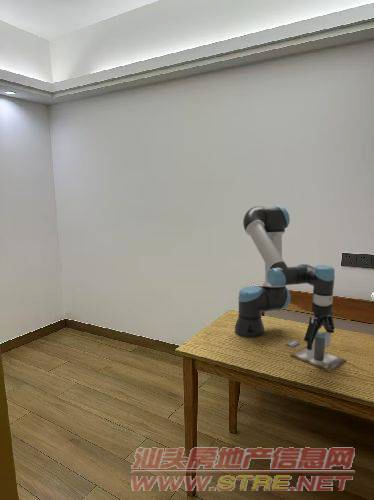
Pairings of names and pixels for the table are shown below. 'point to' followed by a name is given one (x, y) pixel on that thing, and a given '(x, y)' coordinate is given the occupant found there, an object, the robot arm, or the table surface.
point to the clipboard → (328, 364)
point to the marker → (319, 347)
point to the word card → (292, 343)
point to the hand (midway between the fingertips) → (318, 351)
